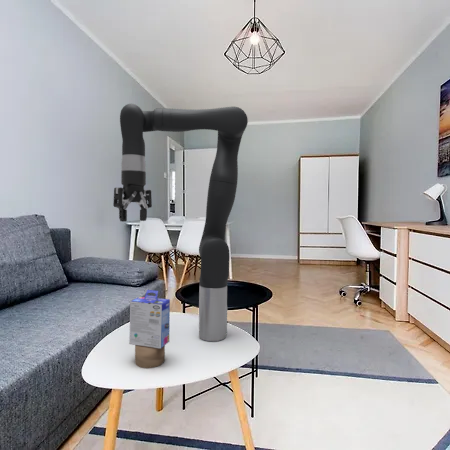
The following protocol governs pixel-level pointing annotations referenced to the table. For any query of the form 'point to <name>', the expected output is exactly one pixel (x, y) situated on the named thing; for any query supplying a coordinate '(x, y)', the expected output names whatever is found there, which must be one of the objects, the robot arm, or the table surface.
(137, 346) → the walnut block
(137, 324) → the ink cartridge box
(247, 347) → the table surface
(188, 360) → the table surface
